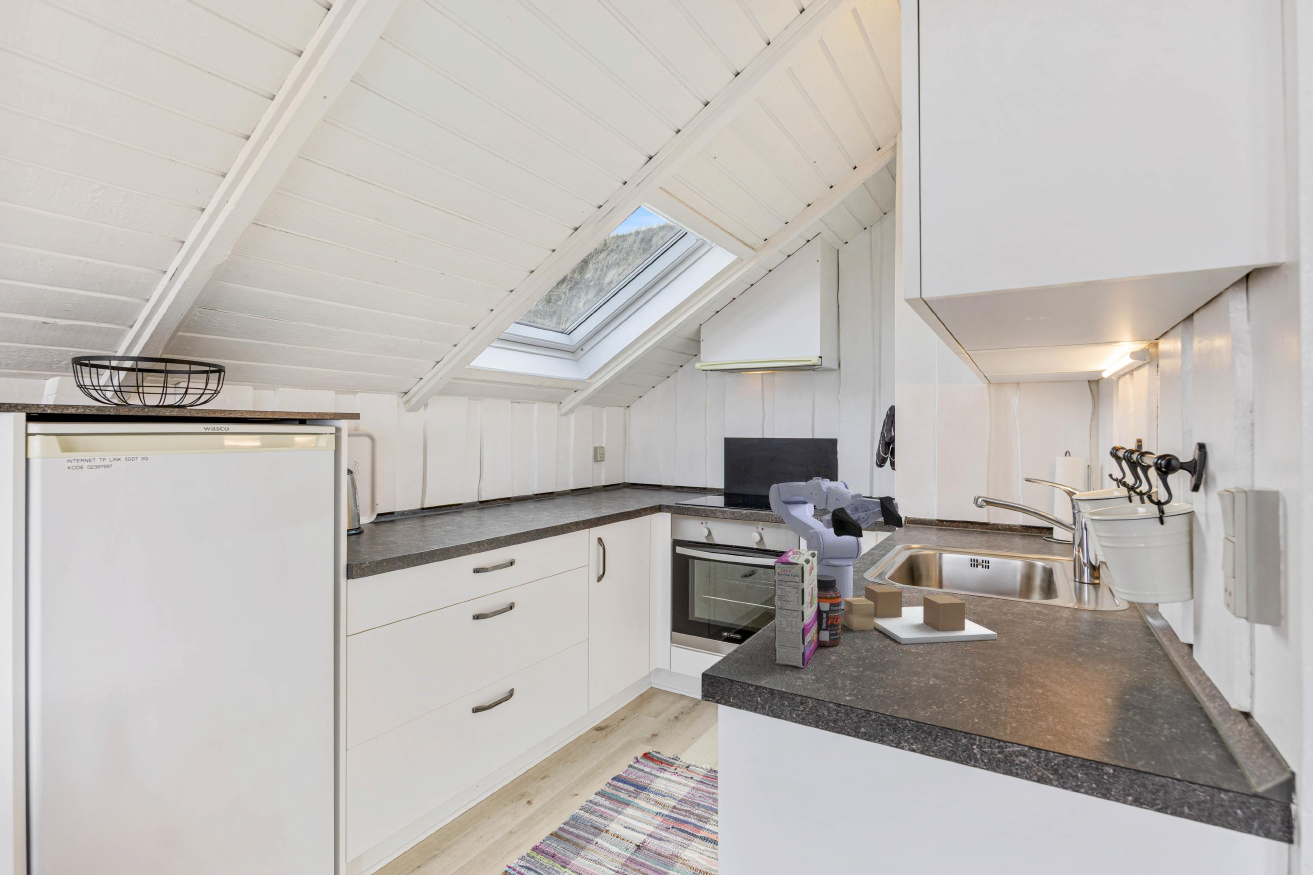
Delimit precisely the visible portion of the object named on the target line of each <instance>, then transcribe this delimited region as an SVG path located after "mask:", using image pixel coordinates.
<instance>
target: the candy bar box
mask: <svg viewBox="0 0 1313 875" xmlns="http://www.w3.org/2000/svg"><path fill="white" fill-rule="evenodd" d="M773 568H774V646H775V647H774V652H775V653H774V655H775V656H774V660H775V661H774V662H775V664H776V665H781V666H786V667H793V668H800V669H805V668H806V666H807V665H808V663H809V661H810V660H811V659H812V657H813V655H814V653H815V652H816V650H817V649H818V646H819V645H818V614H817V551H810V550H807V549H798V548H795V549H794V548H793V549H792V548H791V549H789V550H787V551H786V552H785V553H783V555H781V556H780V557H779V558H777V559H776V560H775V561H774V567H773Z"/></svg>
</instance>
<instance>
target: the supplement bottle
mask: <svg viewBox="0 0 1313 875" xmlns="http://www.w3.org/2000/svg"><path fill="white" fill-rule="evenodd" d="M841 602H842V601H841V592H840V591H839V590H838V589H837V588H836V578H835V577H833V576H829V575H817V614H818V646H821V647H834V646H837V645H839V644H840V643H841V640H842V609H841Z"/></svg>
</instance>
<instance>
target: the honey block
mask: <svg viewBox="0 0 1313 875" xmlns="http://www.w3.org/2000/svg"><path fill="white" fill-rule="evenodd" d="M844 624H845V625H846V626H845V625H844ZM843 625H844V626H845V627H847V626H848V627H849V628H848V627H847V628H848V629H850V628H851V629H852V630H851V629H850V630H851V631H853V632H860V631H861V630H865V631H874V630H875V627H874V603H873V602H871V601H869V600H867V599H866V598H865V597H853V598H844V609H843ZM859 630H860V631H859ZM861 632H862V631H861Z"/></svg>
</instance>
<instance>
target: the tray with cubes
mask: <svg viewBox="0 0 1313 875" xmlns="http://www.w3.org/2000/svg"><path fill="white" fill-rule="evenodd" d="M864 598H866V599H867V600H869V601H871V602H873V603H874V628H876V629H878V630H879V631H881V633H884V634H885V635H887V636H888V637H890V638H892V639H894V640H896V642H899V643H900V644H901V645H905V644H907V645H908V644H928V643H943V642H944V643H948V642H964V641H965V642H967V641H969V642H970V641H985V640H987V641H988V640H998V633H997V632H995V631H993V630H991V629H988V628H986V627H984V626H982V625H980V624H977V623H975V622H973V621H971V620H969V619H967V618H966V602H965V601H963V600H960V599H958V598H956V597H953V596H951V595H947V594H946V595H923V604H922V606H903V591H902V590H900V589H898V588H896V587H894V586H892V585H889V584H882V585H881V584H877V585H876V584H875V585H864Z"/></svg>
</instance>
